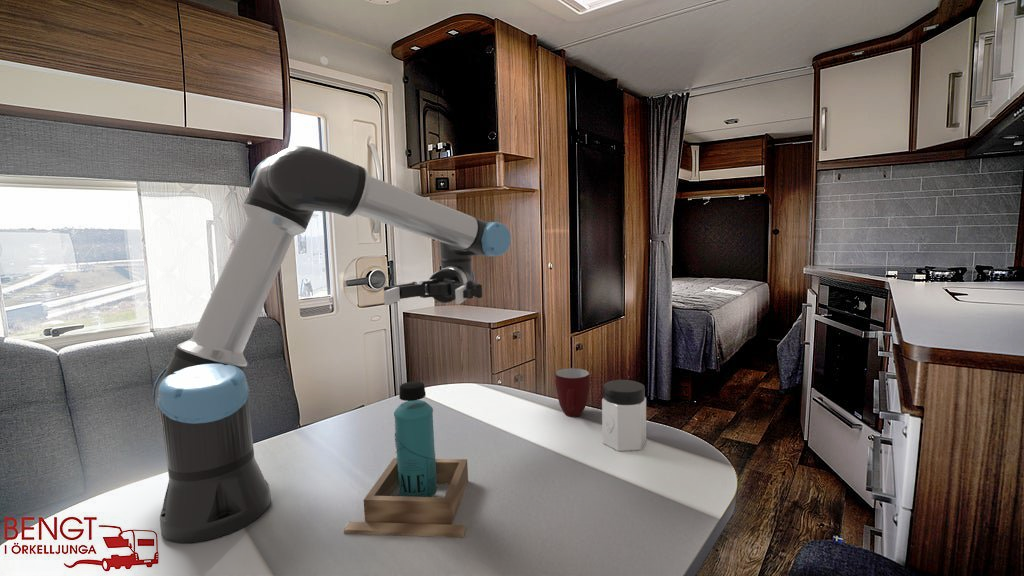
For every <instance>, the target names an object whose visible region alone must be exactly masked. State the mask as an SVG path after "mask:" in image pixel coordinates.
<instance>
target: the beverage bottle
mask: <svg viewBox="0 0 1024 576" xmlns="http://www.w3.org/2000/svg"><path fill="white" fill-rule="evenodd" d="M425 397H426V388H425V384H424V383H423V382H422V381H408V382H404V383H402V384H400V386H399V399H400V400H401V401H404V402H402V403H400V405H398V406H397V408H396V409H395V410H394V412H393V416H394V444H395V445H394V446H395V450H396V452H395V453H396V458H397V460H396V461H397V462H396V465H397V464H398V466H397V467H398V472H397V473H398V475H397V476H398V477H397V480H399V481H398V486H397V488H398V494H399V495H400V496H407V497H435V494H436V493H437V490H438V484H437V483H438V481H437V475H436V466H437V465H436V460H435V459H436V450H435V434H434V433H435V431H434V409H433V407H432V406H431V404H429V403H428V402H426V401H425V400H421V399H424V398H425Z"/></svg>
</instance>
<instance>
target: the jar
mask: <svg viewBox="0 0 1024 576" xmlns="http://www.w3.org/2000/svg"><path fill="white" fill-rule="evenodd" d="M602 390H603V391H602V392H603V393H602V394H603V397H602V399H601V422H602V423H601V426H602V427H601V429H602V434H601V435H602V436H601V437H602V439H601V440H602V444H604V445H606V446H607V447H610V448H611V449H613V450H615V451H617V452H625V451H630V452H631V450H632V451H641V450H642V449H643V446H644V445H645V443H646V442H647V396H645V395H646V394H645V393H646V392H645V391H646V388H645V385H644V384H643V383H641V382H640V381H639V382H638V381H636V380H630V379H614V380H610V381H606V382H605V383H604V384H603V389H602Z"/></svg>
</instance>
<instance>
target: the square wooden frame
mask: <svg viewBox="0 0 1024 576" xmlns="http://www.w3.org/2000/svg"><path fill="white" fill-rule="evenodd" d="M396 460H397V458H393V459H392V460H391V461H390V463H389V464H388V465H387V467H386V468H385V469H384V471H383V472H382V473H381V475H380V476H379V477H378V479H377V480H376V482H375V483H374V485H372V487H371V489H370V490H369V491H368V493H367V494H366V496H365V497H364V499H363V512H364V521H349V522H348V523H347V525H346V526H345V528H344V529H343V533H344V534H346V535H347V534H350V535H354V534H355V535H379V536H380V535H381V536H382V535H383V536H384V535H385V536H410V537H412V536H414V537H444V538H464V536H465V533H466V530H467V525H466V524H453V523H454V521H455V518H456V516H457V512H458V510H459V507H460V505H461V502H462V499H463V496H464V494H465V491H466V488H467V486H468V482H469V471H468V470H469V467H468V459H460V458H458V459H457V458H453V459H452V458H435V460H436V465H437V466H436V475H437V481H438V483H437V485H448V486H447V487H448V488H447V490H446V492H445V495H444V497H443V496H442V497H439V496H432V497H407V496H399V495H398V496H397V495H394V496H393V494H394V492H395V491H394V490H396V489H397V488H398V487H399V486H398V481H399V480H397V477H398V476H397V475H398V473H397V472H398V467H397V466H398V464H397V465H396V462H397V461H396Z"/></svg>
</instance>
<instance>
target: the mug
mask: <svg viewBox="0 0 1024 576" xmlns="http://www.w3.org/2000/svg"><path fill="white" fill-rule="evenodd" d="M554 377H555V378H554V382H555V390H556V395H557V399H558V404H559V406H560V408H561V410H562V412H563V414H564V415H565V416H567V417H571V418H576V417H579V416H581V415H582V414H583V413H584V410H585V408H586V406H587V404H588V398H589V391H590V385H591V382H590V381H591V379H590V372H589V370H586V369H583V368H575V367H574V368H573V367H569V368H562V369H561V368H560V369H558V370H556V371H555V373H554Z"/></svg>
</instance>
